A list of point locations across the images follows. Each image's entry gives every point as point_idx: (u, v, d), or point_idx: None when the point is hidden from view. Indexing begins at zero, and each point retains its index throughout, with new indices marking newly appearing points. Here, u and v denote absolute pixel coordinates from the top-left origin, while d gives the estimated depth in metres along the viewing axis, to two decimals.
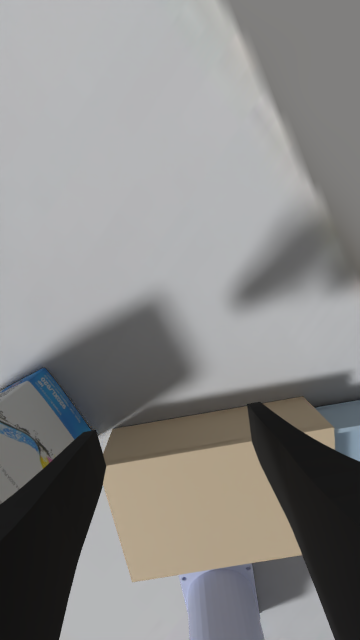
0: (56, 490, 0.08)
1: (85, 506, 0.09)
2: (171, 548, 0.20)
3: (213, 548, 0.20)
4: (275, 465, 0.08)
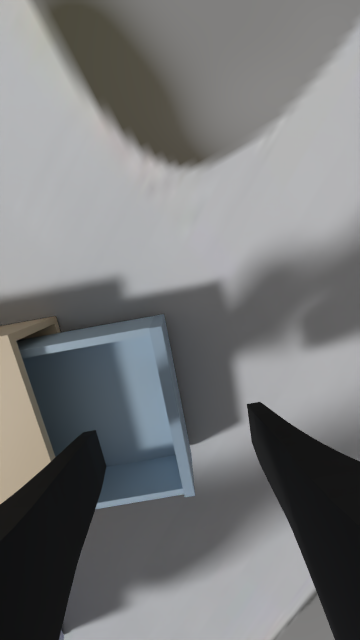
0: (56, 490, 0.08)
1: (85, 506, 0.09)
2: None
3: None
4: (275, 465, 0.08)
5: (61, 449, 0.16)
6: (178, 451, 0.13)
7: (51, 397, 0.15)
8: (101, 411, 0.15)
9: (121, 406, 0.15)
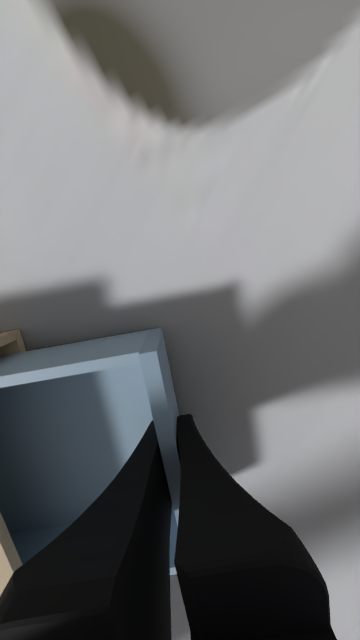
0: (153, 474, 0.08)
1: (168, 493, 0.09)
2: None
3: None
4: None
5: (29, 500, 0.12)
6: None
7: (13, 435, 0.11)
8: (80, 453, 0.12)
9: (106, 446, 0.12)
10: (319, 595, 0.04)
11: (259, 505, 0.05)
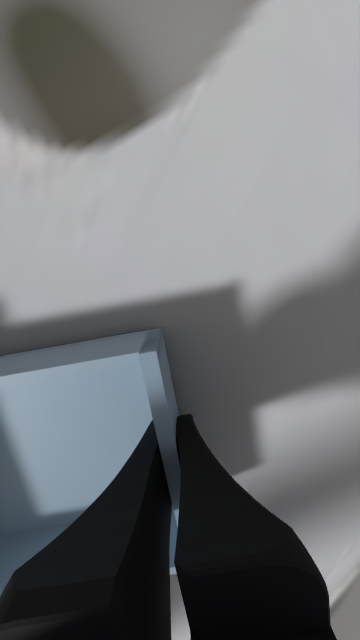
0: (153, 474, 0.08)
1: (168, 493, 0.09)
2: None
3: None
4: None
5: (29, 499, 0.12)
6: None
7: (13, 435, 0.11)
8: (80, 453, 0.12)
9: (106, 446, 0.12)
10: (318, 595, 0.04)
11: (259, 505, 0.05)
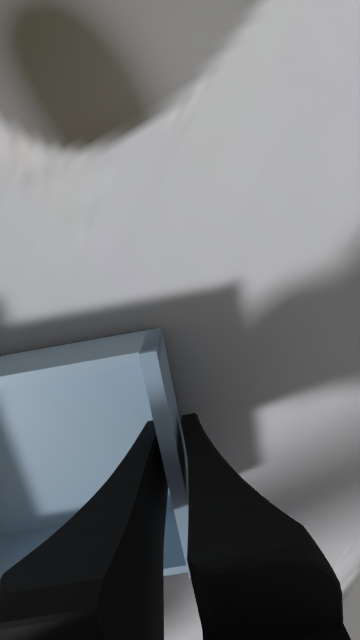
0: (147, 475, 0.08)
1: (162, 493, 0.09)
2: None
3: None
4: None
5: (29, 500, 0.12)
6: (180, 520, 0.09)
7: (13, 435, 0.11)
8: (80, 453, 0.12)
9: (106, 446, 0.12)
10: (332, 594, 0.04)
11: (269, 504, 0.05)
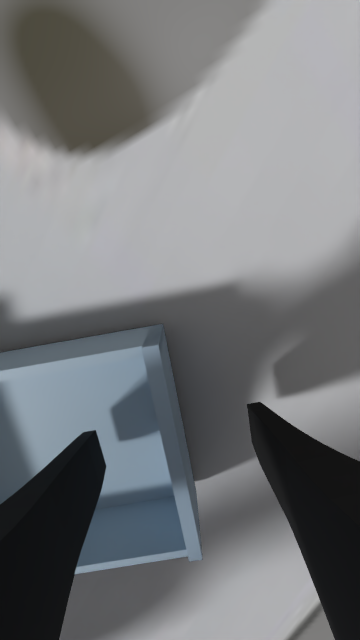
0: (56, 490, 0.08)
1: (85, 506, 0.09)
2: None
3: None
4: (275, 465, 0.08)
5: None
6: (181, 505, 0.10)
7: (21, 427, 0.12)
8: None
9: (109, 438, 0.12)
10: None
11: None
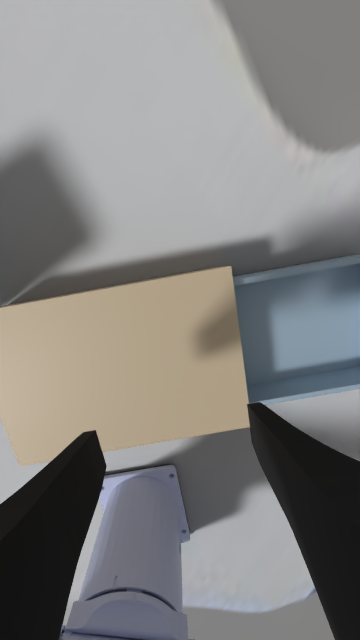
0: (56, 490, 0.08)
1: (85, 506, 0.09)
2: (59, 423, 0.17)
3: (107, 423, 0.18)
4: (275, 465, 0.08)
5: (272, 361, 0.21)
6: None
7: (273, 317, 0.20)
8: (308, 329, 0.20)
9: (324, 325, 0.20)
10: None
11: None
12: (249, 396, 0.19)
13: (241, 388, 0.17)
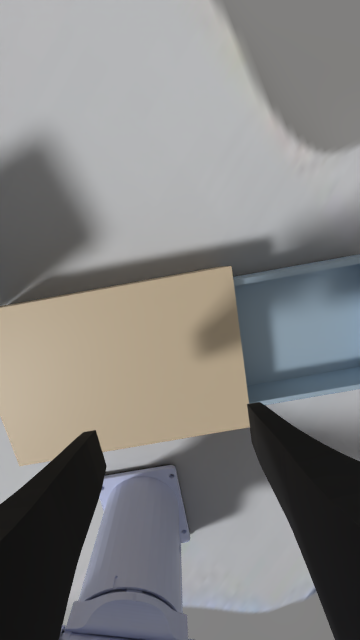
0: (56, 490, 0.08)
1: (85, 506, 0.09)
2: (59, 423, 0.17)
3: (107, 423, 0.18)
4: (275, 465, 0.08)
5: (272, 361, 0.21)
6: None
7: (273, 317, 0.20)
8: (308, 329, 0.20)
9: (324, 326, 0.20)
10: None
11: None
12: (249, 396, 0.19)
13: (242, 388, 0.17)
